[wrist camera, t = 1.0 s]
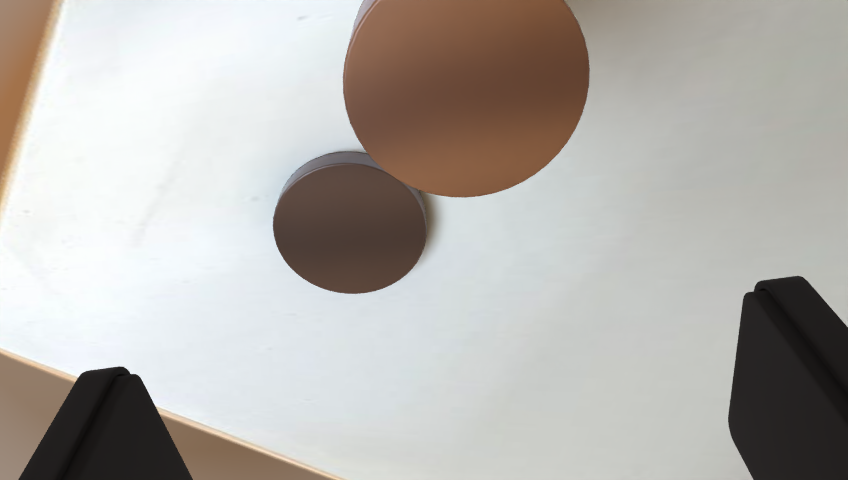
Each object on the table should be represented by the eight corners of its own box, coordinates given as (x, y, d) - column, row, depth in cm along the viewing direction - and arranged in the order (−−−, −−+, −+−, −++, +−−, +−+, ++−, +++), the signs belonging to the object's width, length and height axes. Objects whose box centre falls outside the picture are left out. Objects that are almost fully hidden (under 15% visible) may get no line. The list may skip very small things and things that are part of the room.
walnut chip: (258, 164, 37) (253, 176, 35) (412, 139, 36) (412, 151, 35) (298, 288, 41) (295, 303, 40) (436, 268, 41) (437, 283, 39)
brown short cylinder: (327, -38, 20) (316, -17, 17) (563, -80, 20) (586, -64, 17) (374, 171, 24) (369, 213, 21) (573, 140, 23) (593, 180, 21)
